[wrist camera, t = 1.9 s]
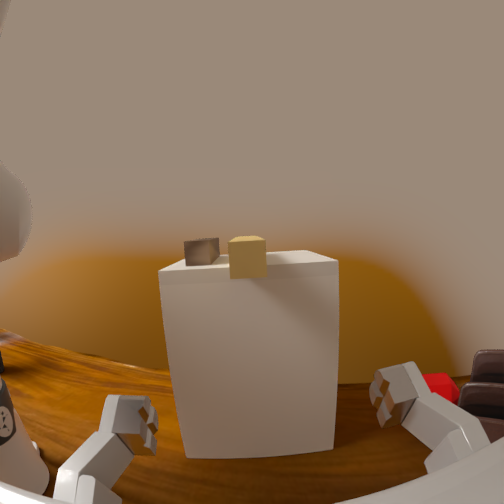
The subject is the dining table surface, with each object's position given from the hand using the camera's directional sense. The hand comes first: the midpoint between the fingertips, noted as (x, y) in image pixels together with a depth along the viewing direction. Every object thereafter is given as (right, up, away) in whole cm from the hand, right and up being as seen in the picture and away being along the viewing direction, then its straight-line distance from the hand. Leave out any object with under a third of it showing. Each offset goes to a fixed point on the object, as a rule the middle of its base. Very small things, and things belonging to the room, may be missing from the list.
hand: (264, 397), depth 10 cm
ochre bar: (-1, +4, +28) cm, 28 cm away
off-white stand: (0, -22, +36) cm, 42 cm away
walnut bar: (-7, +4, +35) cm, 36 cm away
